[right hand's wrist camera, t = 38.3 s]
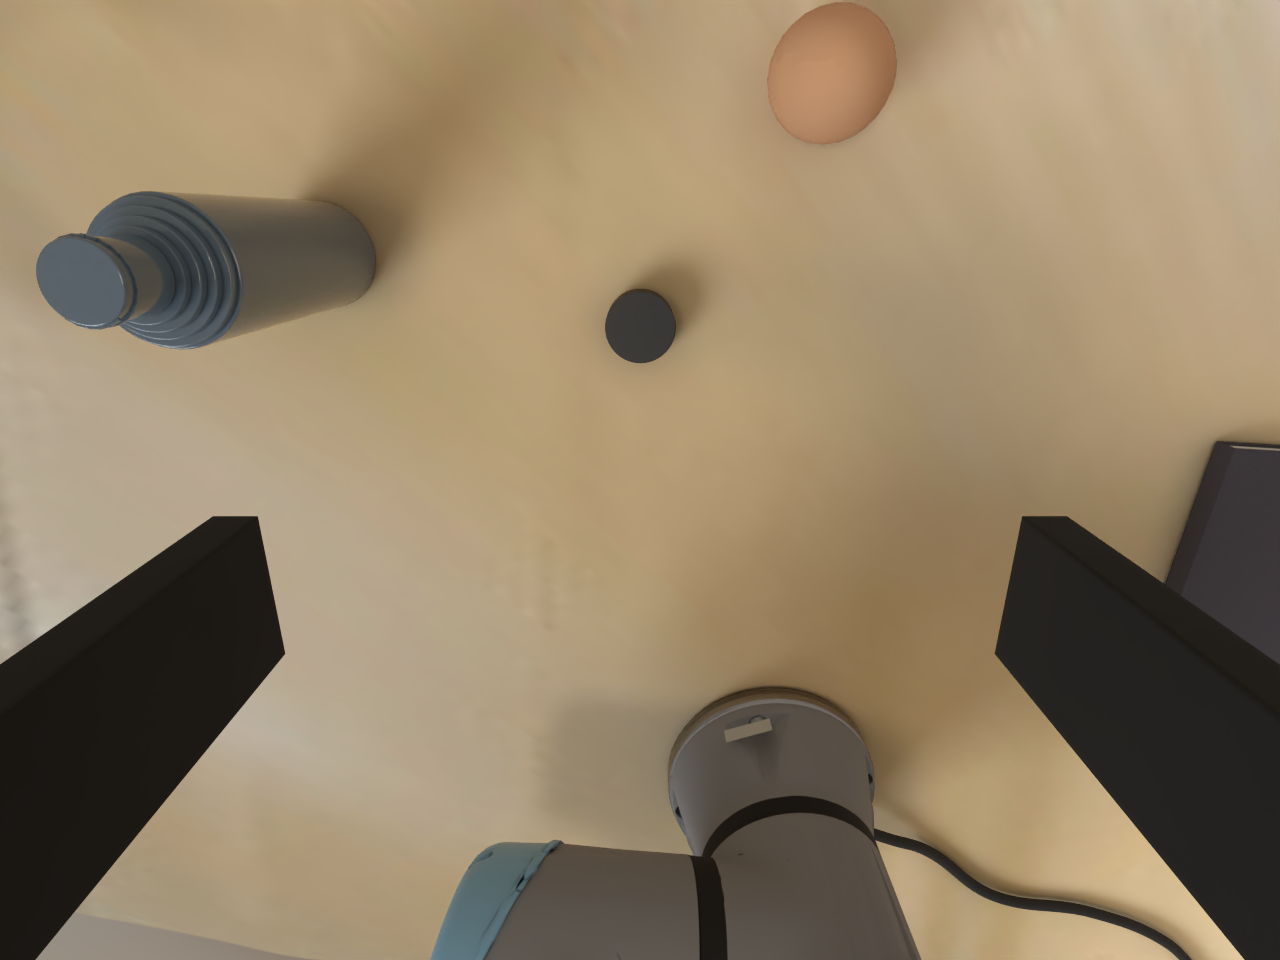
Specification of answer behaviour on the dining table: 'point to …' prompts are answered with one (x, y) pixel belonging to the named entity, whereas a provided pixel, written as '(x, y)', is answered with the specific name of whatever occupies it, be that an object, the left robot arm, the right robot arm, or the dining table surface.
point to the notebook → (1236, 544)
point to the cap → (640, 326)
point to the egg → (831, 73)
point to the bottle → (206, 266)
